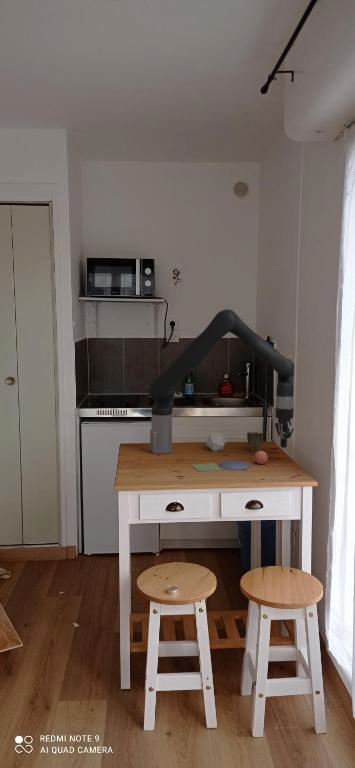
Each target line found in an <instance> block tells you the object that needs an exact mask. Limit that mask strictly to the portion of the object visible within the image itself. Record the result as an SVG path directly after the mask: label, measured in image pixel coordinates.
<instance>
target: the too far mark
mask: <svg viewBox="0 0 355 768" xmlns="http://www.w3.org/2000/svg"><path fill="white" fill-rule="evenodd" d="M191 466H192V467H193V468H194V469H195V470H196V471H198V472H201V473H202V472H213V471H223V469H224V468H221V467H219V466H218V464H216V463H214V462H210V463H197V464H191Z"/></svg>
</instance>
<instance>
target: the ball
mask: <svg viewBox="0 0 355 768" xmlns="http://www.w3.org/2000/svg"><path fill="white" fill-rule="evenodd" d="M254 461H255V462H256V463H257V464H259V465H262V464H265V463H267V462H268V454H267V452H265V451H264V450H258V451H256V452H255V454H254Z"/></svg>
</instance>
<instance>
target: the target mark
mask: <svg viewBox="0 0 355 768" xmlns="http://www.w3.org/2000/svg"><path fill="white" fill-rule="evenodd" d="M217 466H219V467H220V468H221V469H224V470H231V471H240V470H241V471H242V470H247V469H249V468H251V465H250V464H249V463H248V462H245V461H238V460H226V461H221V462H219V463H218V464H217Z"/></svg>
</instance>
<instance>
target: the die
mask: <svg viewBox="0 0 355 768" xmlns="http://www.w3.org/2000/svg"><path fill="white" fill-rule="evenodd" d="M226 442H227V439H226V438H225V437H224V436H223V435H222V434H221V433H219V432H212V433H209V436H208V438H207V441H206V443H205V445H206V446H207V447H208V448H210V449H211V451H213V452H218V451H223V449H224V446H225V445H226Z"/></svg>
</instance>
